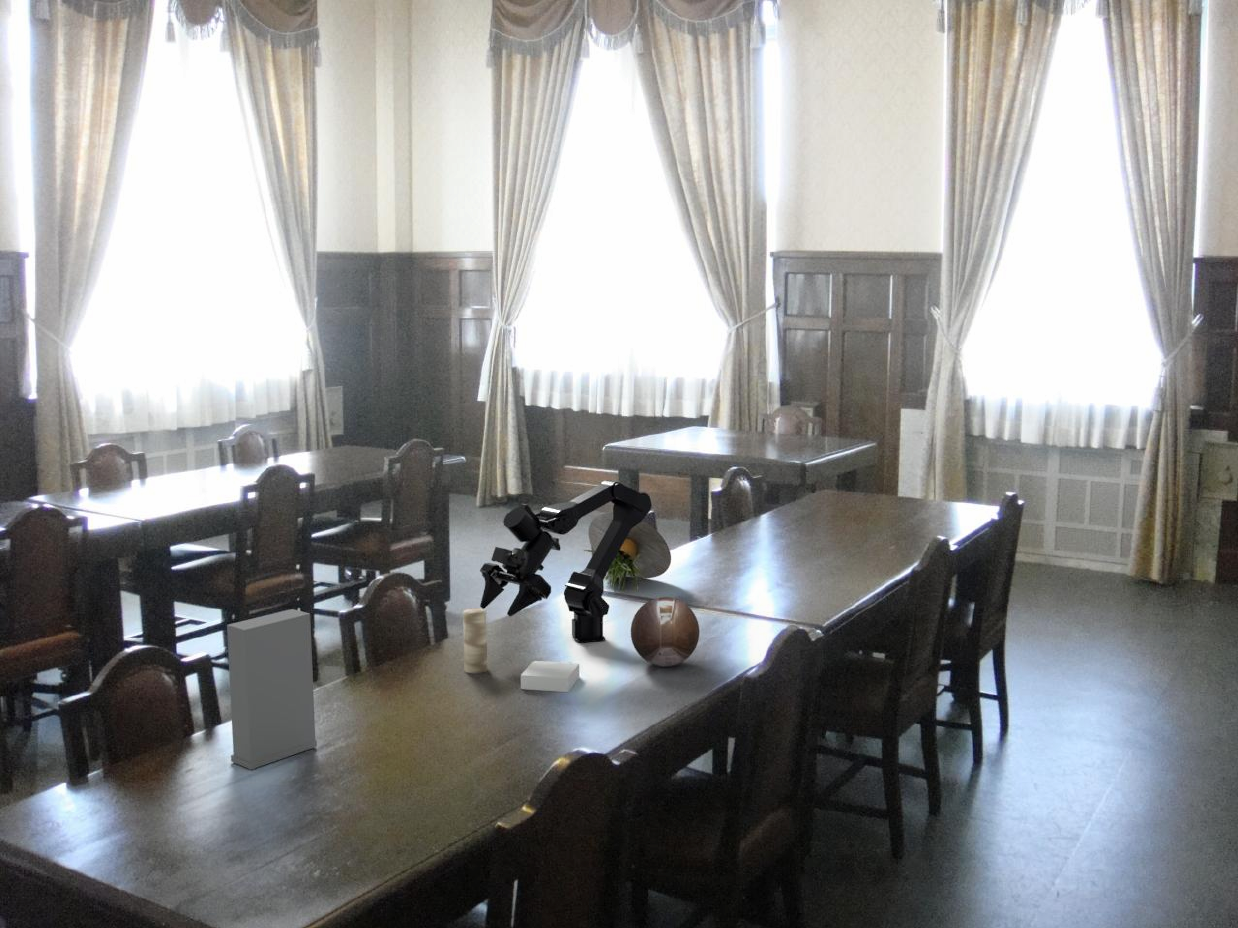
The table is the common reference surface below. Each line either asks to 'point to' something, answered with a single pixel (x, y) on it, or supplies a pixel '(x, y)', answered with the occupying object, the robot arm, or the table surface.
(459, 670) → the table surface
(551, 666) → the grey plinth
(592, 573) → the robot arm
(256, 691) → the upright grey box
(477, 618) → the birch column
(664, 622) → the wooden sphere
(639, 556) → the potted plant
